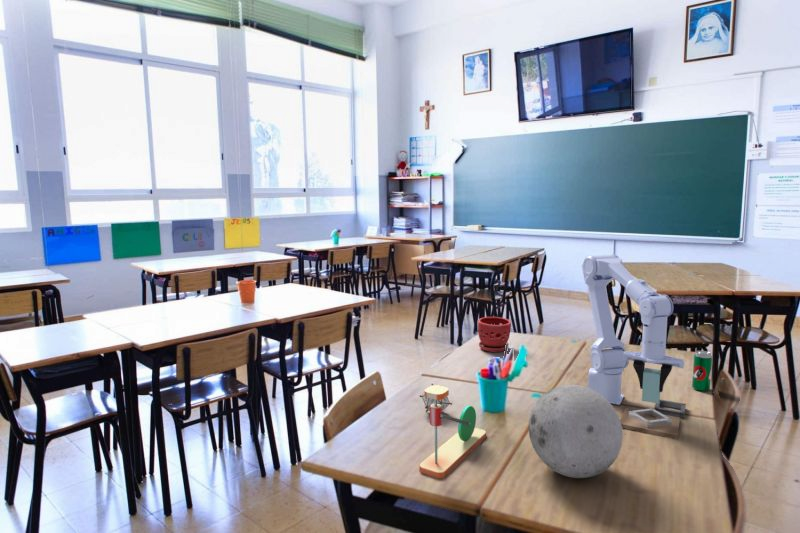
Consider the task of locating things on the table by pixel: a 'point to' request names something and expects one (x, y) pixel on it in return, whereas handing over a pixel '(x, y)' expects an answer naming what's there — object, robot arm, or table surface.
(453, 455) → the crank mechanism
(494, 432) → the table surface
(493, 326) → the plant pot
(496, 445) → the table surface
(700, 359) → the soda can
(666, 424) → the socket board
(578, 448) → the moon model
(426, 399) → the grey wire strut frame
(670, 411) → the stand socket
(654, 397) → the teal peg
